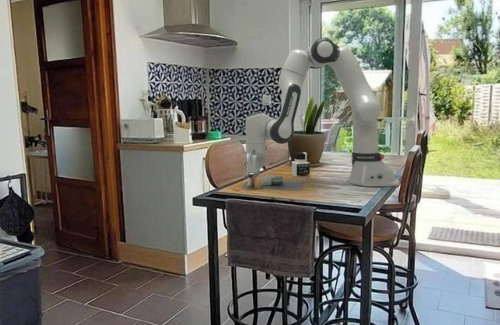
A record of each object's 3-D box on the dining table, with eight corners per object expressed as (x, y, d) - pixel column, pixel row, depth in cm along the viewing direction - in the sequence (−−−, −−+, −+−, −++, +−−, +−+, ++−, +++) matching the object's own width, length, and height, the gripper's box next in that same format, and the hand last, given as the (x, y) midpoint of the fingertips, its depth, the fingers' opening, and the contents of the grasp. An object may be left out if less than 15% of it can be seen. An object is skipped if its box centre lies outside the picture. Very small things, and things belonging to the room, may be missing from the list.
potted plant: (327, 168, 237) (328, 95, 231) (288, 168, 238) (288, 96, 232) (322, 162, 258) (322, 95, 252) (286, 162, 259) (286, 96, 252)
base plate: (303, 182, 200) (303, 169, 199) (302, 192, 181) (302, 178, 180) (248, 181, 204) (248, 169, 203) (241, 191, 185) (241, 177, 184)
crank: (279, 182, 196) (279, 170, 195) (284, 184, 190) (284, 173, 189) (245, 185, 191) (245, 173, 190) (249, 187, 185) (249, 175, 184)
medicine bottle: (296, 177, 213) (296, 153, 211) (291, 175, 220) (291, 151, 218) (309, 176, 215) (310, 152, 213) (304, 174, 221) (304, 151, 220)
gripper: (257, 152, 179) (258, 184, 181) (267, 146, 198) (267, 175, 200) (243, 152, 180) (244, 184, 182) (254, 146, 200) (254, 175, 202)
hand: (256, 179), depth 191 cm, fingers closed
